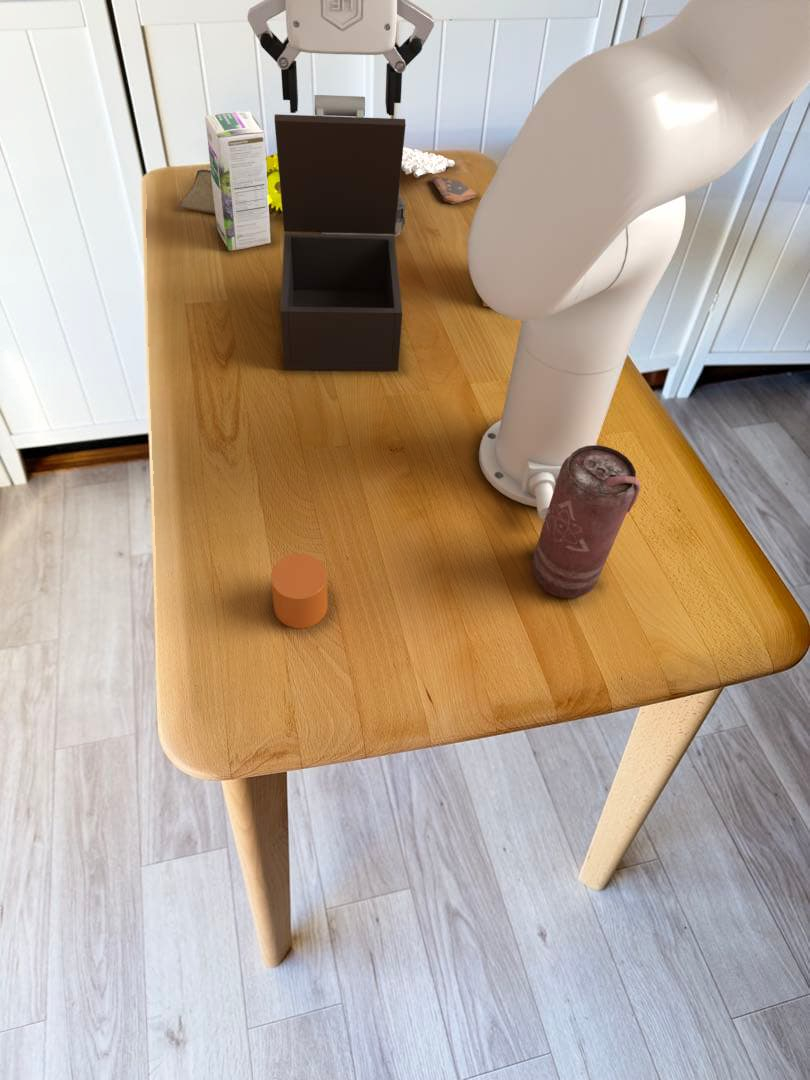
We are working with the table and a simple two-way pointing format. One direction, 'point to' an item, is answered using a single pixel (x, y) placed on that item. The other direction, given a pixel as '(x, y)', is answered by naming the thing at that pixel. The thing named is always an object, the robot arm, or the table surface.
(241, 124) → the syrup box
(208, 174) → the ceramic shard
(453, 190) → the pottery shard
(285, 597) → the orange cylinder
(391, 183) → the chamber lid
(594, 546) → the can
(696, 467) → the table surface
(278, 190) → the gear
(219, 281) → the table surface
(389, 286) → the box
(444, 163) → the salt crystals
